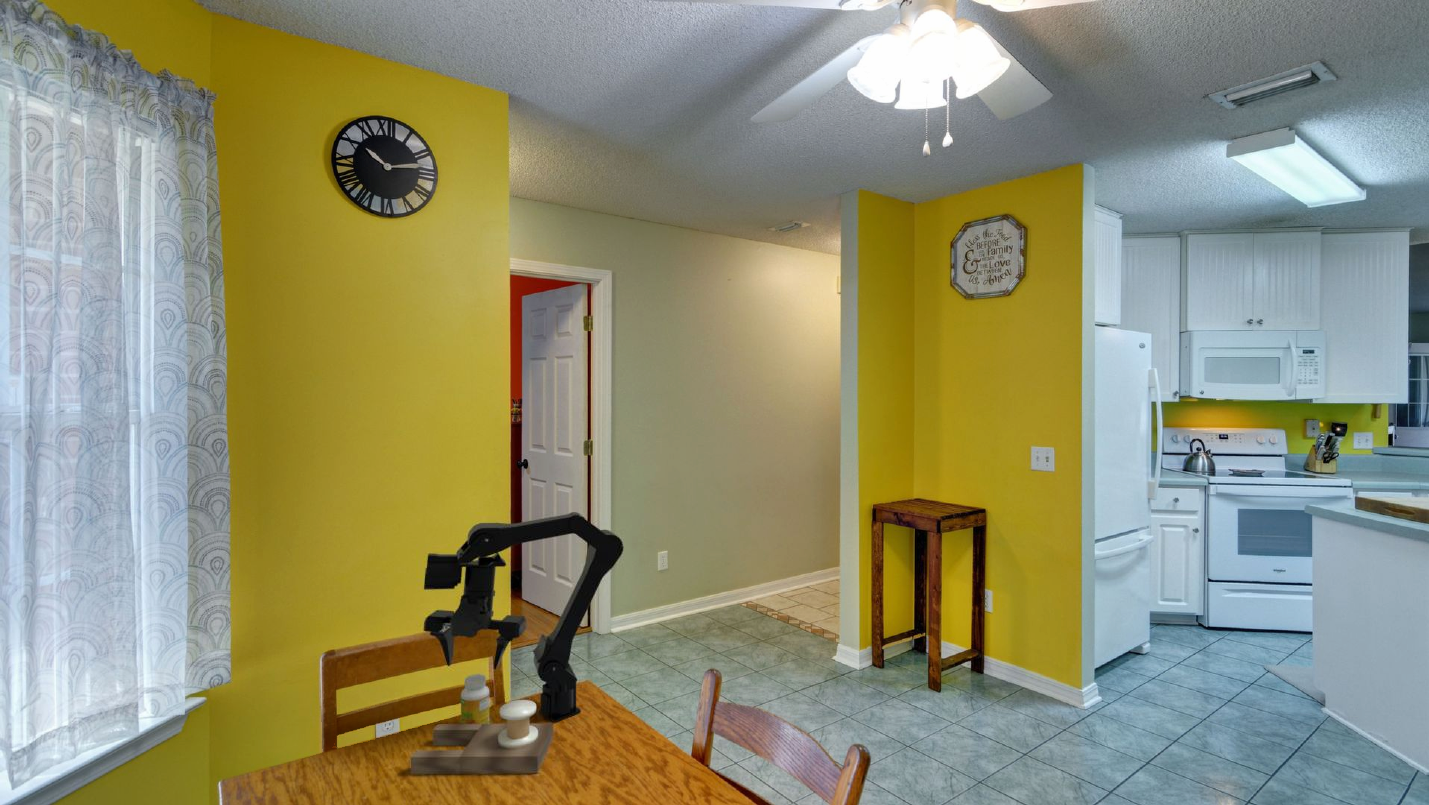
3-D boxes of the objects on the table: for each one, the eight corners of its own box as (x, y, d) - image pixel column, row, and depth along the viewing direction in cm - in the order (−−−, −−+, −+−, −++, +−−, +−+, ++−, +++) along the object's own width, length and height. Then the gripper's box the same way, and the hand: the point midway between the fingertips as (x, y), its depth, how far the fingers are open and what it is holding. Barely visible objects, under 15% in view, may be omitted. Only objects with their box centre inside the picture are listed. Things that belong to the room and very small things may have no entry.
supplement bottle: (454, 729, 135) (454, 680, 134) (475, 718, 139) (475, 670, 139) (474, 735, 132) (474, 685, 132) (495, 723, 137) (495, 675, 137)
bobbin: (525, 726, 129) (525, 695, 129) (545, 739, 125) (545, 707, 125) (491, 739, 124) (491, 707, 124) (510, 753, 120) (510, 720, 120)
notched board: (553, 739, 131) (553, 723, 131) (537, 773, 119) (537, 756, 119) (437, 740, 130) (437, 724, 130) (410, 774, 118) (410, 757, 118)
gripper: (414, 595, 127) (407, 679, 127) (513, 602, 127) (506, 686, 127) (438, 581, 139) (432, 658, 138) (529, 588, 139) (523, 665, 138)
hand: (472, 667), depth 135 cm, fingers open, 9 cm apart
